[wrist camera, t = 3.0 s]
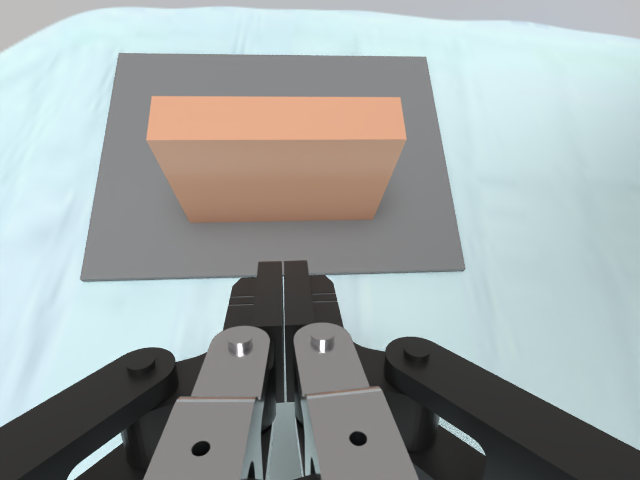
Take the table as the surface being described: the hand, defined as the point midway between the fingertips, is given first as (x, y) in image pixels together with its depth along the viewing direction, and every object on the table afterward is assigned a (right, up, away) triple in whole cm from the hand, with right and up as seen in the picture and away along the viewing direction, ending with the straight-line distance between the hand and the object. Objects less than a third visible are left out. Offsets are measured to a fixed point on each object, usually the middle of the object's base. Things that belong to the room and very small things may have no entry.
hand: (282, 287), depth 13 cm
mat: (-2, +8, +17) cm, 19 cm away
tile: (-1, +4, +15) cm, 16 cm away
